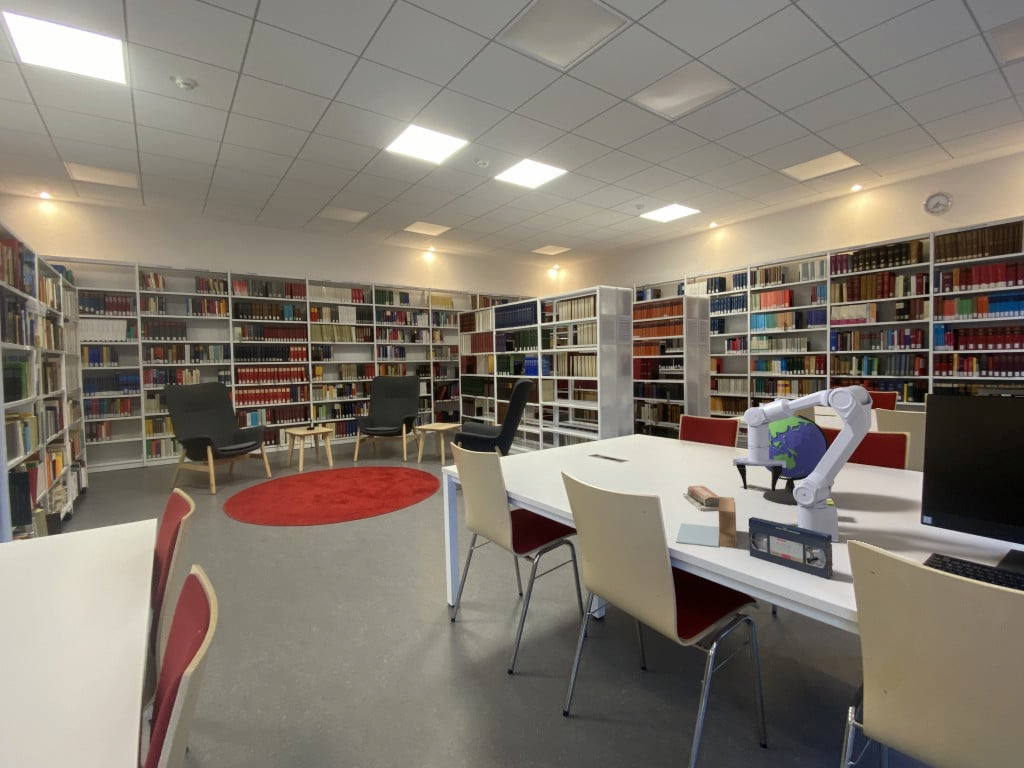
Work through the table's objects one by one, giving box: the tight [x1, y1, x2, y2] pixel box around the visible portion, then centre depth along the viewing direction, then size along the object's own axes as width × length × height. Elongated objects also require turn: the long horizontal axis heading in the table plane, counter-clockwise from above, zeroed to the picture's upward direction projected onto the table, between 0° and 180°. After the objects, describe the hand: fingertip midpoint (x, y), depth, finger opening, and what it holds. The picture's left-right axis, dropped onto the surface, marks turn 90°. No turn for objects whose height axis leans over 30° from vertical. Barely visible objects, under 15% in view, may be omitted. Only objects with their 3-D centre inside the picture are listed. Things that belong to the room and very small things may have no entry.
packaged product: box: [682, 485, 721, 512], centre depth 168 cm, size 18×5×10 cm
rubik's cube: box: [827, 498, 835, 506], centre depth 148 cm, size 6×6×6 cm
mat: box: [675, 522, 720, 548], centre depth 138 cm, size 11×16×1 cm
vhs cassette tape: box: [748, 516, 834, 580], centre depth 116 cm, size 18×3×10 cm, turn 35°
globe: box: [762, 414, 830, 507], centre depth 169 cm, size 22×22×30 cm
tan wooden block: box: [718, 496, 737, 549], centre depth 135 cm, size 4×14×10 cm, turn 155°
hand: (759, 489), depth 146 cm, fingers open, 7 cm apart
